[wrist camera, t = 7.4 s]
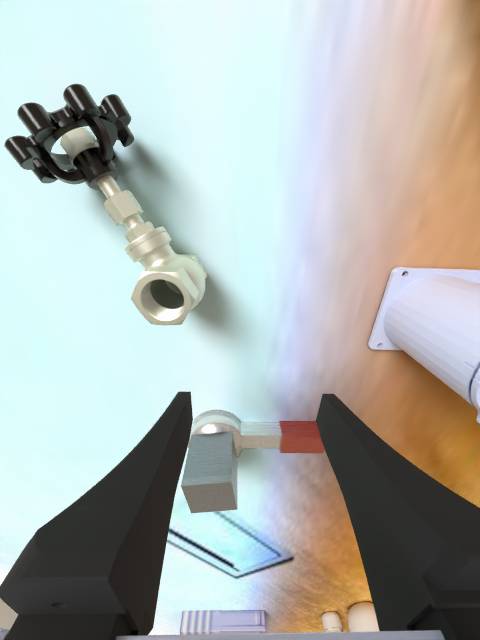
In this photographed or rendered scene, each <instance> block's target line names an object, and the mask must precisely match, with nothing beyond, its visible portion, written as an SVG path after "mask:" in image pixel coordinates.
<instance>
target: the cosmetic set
mask: <svg viewBox="0 0 480 640" xmlns="http://www.w3.org/2000/svg"><path fill="white" fill-rule="evenodd" d="M322 622H323V627H324V631H325V632H343V628H342V624H341V620H340V617H339V615H338V614H337V613H336V612H333V611H329V612H325V613H323V615H322ZM348 626H349V630H350V632H373V631H379V627H378V623H377V618H376V614H375V610H374V605H373V603H371V602H360V603H356V604H354V605H353V606H352V607H351V608H350V610H349V612H348Z"/></svg>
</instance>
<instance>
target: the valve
mask: <svg viewBox="0 0 480 640" xmlns="http://www.w3.org/2000/svg"><path fill="white" fill-rule="evenodd" d="M63 96H64V100H65V101H66V103H67V104H66V106H65V107H63V108H62V109H59V110H57V111H55V112H47V111H46V110H45V109H44V108H43V107H42V106H41V105H39V104H37V103H26V104H23V105H22V106H20V107H19V109H18V117H19V118H20V119H21V121H22V122H23V124H24V125H25V126H26V128H27V129H28V130H29V132H30V133H31V134H32V135H31V136H29V137H27V138H26V137H24V136H13V137H11V138H9V139H7V140H6V142H5V147H6V149H7V150H8V151H9V153H10V154H11V155H12V156H13V157H14V159H15V160H16V161H17V162H18V164H19V165H20V166H21V167H22V168H23V169H26V170H32V171H33V172H34V174H35V175H36V176H37V177H38V179H39V180H40V181H41V182H42V183H52V182H54V181H56V180H58V179H59V180H61V181H63V182H65V183H69V184H80V183H83V182H86V184H87V185H88V186H89V187H90V188H92V189H99V188H100V189H101V190H102V192H103V193H104V194H105V196H106V197H107V199H106V201H105V202H104V205H103V206H104V207H105V209H106V210H107V212H108V213H109V214H110V216H111V217H112V219H113V220H114V221H115V223H116V224H117V225H125V226H126V228H127V229H128V232H127V234H126V236H125V237H126V238H127V239H128V241H129V242H130V244H128V245H127V246H126V247H125V251H126V252H127V254H128V255H129V256H130V258H131V259H132V260H133V262H137V261H139V262H140V263H141V264H142V266H143V267H144V268H145V270H144V271H143V272H142V274H141V276H140V278H139V280H138V282H137V284H136V287H135V289H134V292H133V294H132V297H131V299H132V301H133V303H134V304H135V306H136V307H137V308H138V310H139V311H140V313H141V314H142V315H143V316H144V317H145V318H146V319H147V320H148V321H149V322H150V323H151V324H156V325H180V324H182V323H183V321H184V319H185V318H186V316H187V314H188V312H189V311H190V310H192V309H193V308H195V307H196V306H197V305H198V304H199V303H200V301H201V300H202V298H203V296H204V293H205V279H206V277H207V275H208V274H207V273H206V271H205V269H204V268H203V266H202V264H201V263H200V261H199V260H198V258H197V256H196V255H190V254H176V253H175V252H174V251H173V249H172V248H171V246H170V245H169V243H170V242H171V241H172V239H171V237H170V236H169V234H168V233H167V231H166V229H165V228H164V227H158V228H156V229H155V228H154V226H153V225H152V223H151V222H144V221H143V219H142V218H141V216H140V215H141V214H142V213H143V212H144V211H143V209H142V208H141V206H140V205H139V203H138V202H137V200H136V199H135V197H134V196H133V194H132V193H131V192H130V191H128V190H123V191H122V190H121V189H120V187H119V186H118V184H117V183H116V181H115V180H116V179H117V178H118V176H119V171H118V170H117V168H116V166H115V165H114V163H115V162H116V161H117V157H116V156H115V154H114V153H113V146H114V144H115V142H116V140H120V141H121V143H122V144H123V146H124V147H127V146H129V145H130V144H132V143H133V141H134V136H133V134H132V133H131V131H130V129H129V128H128V126H127V125H128V124H129V123H130V121H131V116H130V115H129V113H128V111H127V109H126V108H125V106H124V104H123V103H122V101H121V99H120V98H119V96H117V95H115V94H111V95H108V96H106V97H105V98H104V99H103V100H102V102H101V105H100V106H97V105H96V103H95V102H94V100H93V98H92V97H91V95H90V94H89V92H88V90H87V89H86V88H85V87H84V86H83V85H81V84H72V85H70V86H68V87H67V88H66V89H65V91H64V93H63ZM84 126H89V127H90V129H91V130H92V132H93V133H94V135H95V136H96V138H97V140H96V139H95V138H94V136H93V135H92V133H91V132H89V131H88V130H87V129H85V128H82V127H84ZM79 127H81V128H79ZM61 136H62V138H61V144H60V145H61V146H62V147H63V149H64V150H65V152H66V153H67V154H55V153H51V149H52V146H53V145H54V143H55V142H56V141H57V140H58V139H59V138H60V137H61ZM64 170H67V171H64Z"/></svg>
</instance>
